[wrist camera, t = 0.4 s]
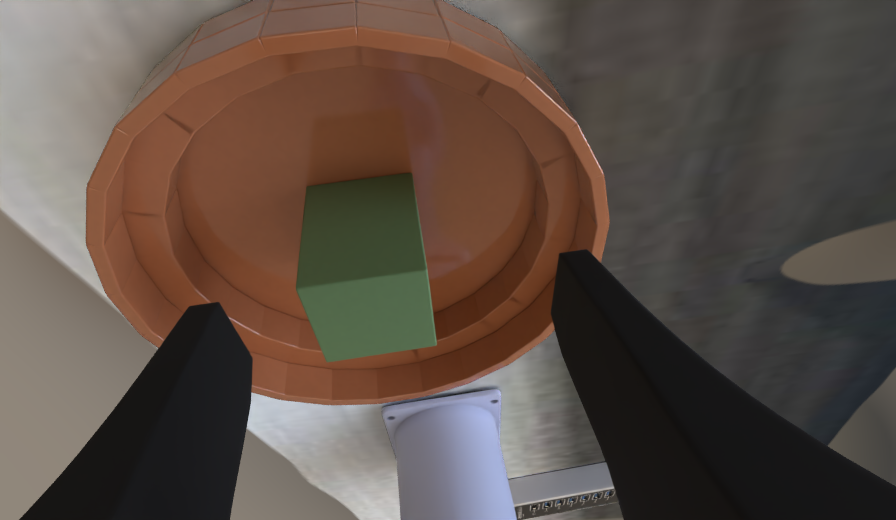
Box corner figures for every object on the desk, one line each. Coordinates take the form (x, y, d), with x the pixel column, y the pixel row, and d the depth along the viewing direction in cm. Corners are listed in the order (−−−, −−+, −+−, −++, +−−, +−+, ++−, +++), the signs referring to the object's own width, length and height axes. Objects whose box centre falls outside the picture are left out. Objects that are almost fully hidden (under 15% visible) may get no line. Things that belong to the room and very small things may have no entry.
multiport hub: (610, 478, 48) (619, 502, 47) (502, 497, 48) (507, 523, 46) (618, 459, 45) (628, 485, 44) (501, 480, 45) (507, 507, 43)
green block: (422, 247, 22) (437, 346, 19) (330, 260, 22) (326, 363, 18) (412, 171, 19) (427, 270, 16) (305, 185, 19) (294, 289, 15)
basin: (552, 313, 28) (575, 373, 25) (233, 361, 27) (220, 429, 24) (606, -50, 15) (664, -10, 12) (3, 16, 14) (-83, 76, 11)
